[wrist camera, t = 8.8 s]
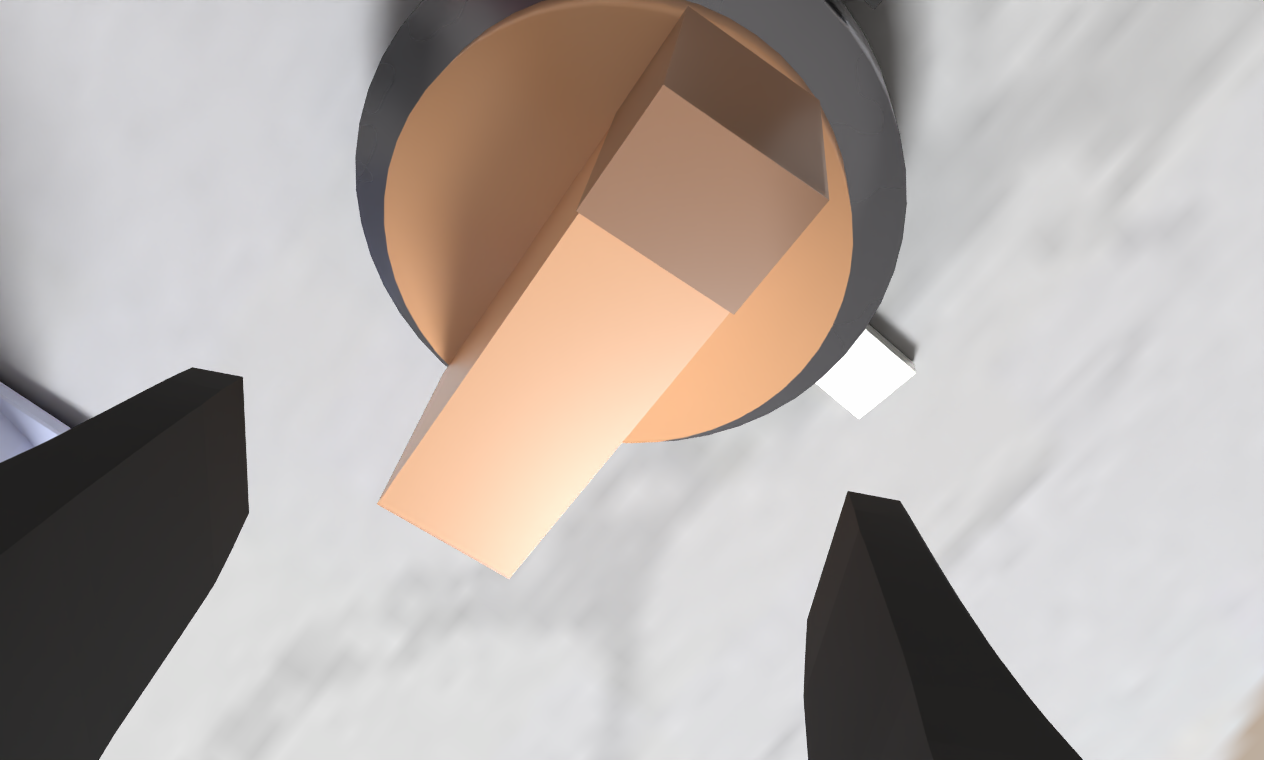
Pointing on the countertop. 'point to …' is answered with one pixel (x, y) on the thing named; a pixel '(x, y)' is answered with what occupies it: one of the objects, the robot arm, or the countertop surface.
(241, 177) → the countertop surface
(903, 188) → the post base
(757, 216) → the twist cap
